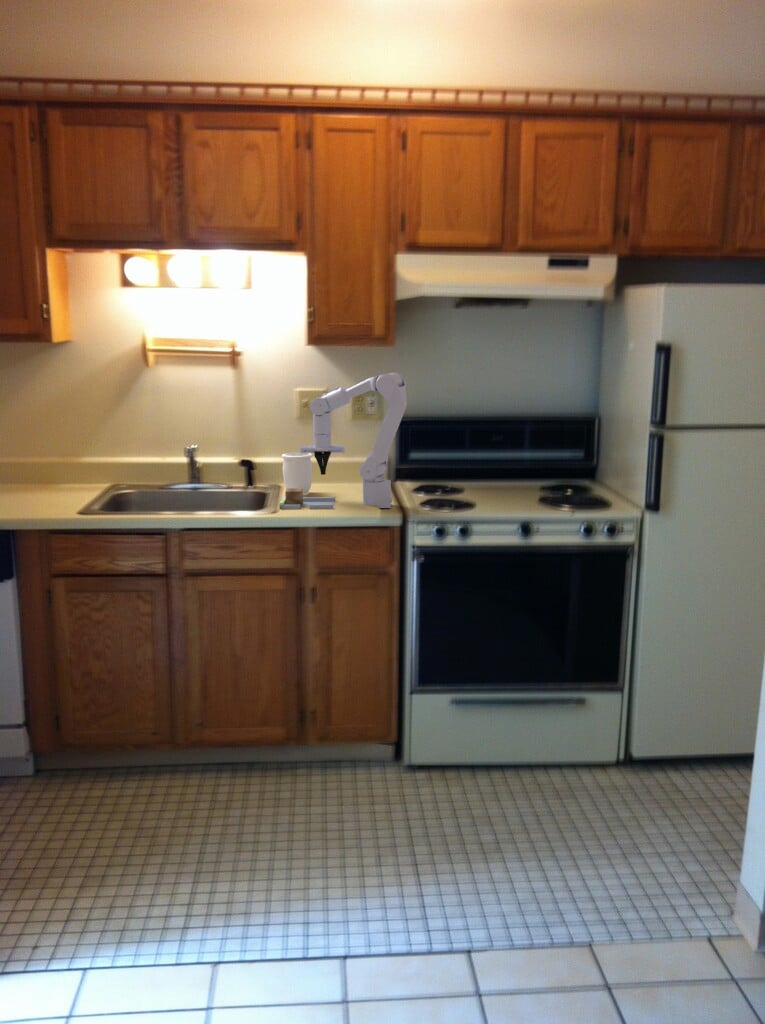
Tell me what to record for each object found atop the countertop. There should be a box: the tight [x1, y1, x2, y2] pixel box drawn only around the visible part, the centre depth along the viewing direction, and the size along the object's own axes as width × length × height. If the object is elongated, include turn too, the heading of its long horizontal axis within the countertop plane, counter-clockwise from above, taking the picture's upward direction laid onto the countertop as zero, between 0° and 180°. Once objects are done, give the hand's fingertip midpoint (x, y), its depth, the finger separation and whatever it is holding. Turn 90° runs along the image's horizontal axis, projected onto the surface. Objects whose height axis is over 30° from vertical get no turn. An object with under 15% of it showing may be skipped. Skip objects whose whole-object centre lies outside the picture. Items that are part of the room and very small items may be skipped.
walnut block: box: [284, 488, 304, 506], centre depth 277 cm, size 5×5×5 cm
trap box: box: [279, 494, 336, 510], centre depth 277 cm, size 17×12×3 cm
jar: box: [281, 451, 313, 496], centre depth 295 cm, size 11×10×15 cm
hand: (323, 474), depth 283 cm, fingers closed
